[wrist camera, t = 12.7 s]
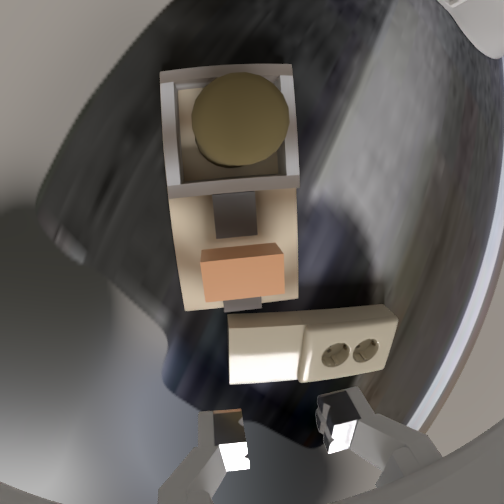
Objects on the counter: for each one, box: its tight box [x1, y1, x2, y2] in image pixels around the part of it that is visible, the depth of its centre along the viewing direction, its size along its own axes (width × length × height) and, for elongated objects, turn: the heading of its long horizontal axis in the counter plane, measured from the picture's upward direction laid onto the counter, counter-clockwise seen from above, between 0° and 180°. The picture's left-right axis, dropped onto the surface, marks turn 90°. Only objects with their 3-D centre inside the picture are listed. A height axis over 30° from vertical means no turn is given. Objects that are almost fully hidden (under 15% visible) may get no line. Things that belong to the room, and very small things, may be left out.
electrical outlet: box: [227, 304, 398, 384], centre depth 30 cm, size 7×4×18 cm
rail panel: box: [160, 64, 300, 312], centre depth 24 cm, size 22×11×4 cm, turn 4°
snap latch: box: [200, 242, 285, 302], centre depth 23 cm, size 3×6×3 cm, turn 94°
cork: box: [191, 72, 290, 168], centre depth 18 cm, size 6×6×11 cm
